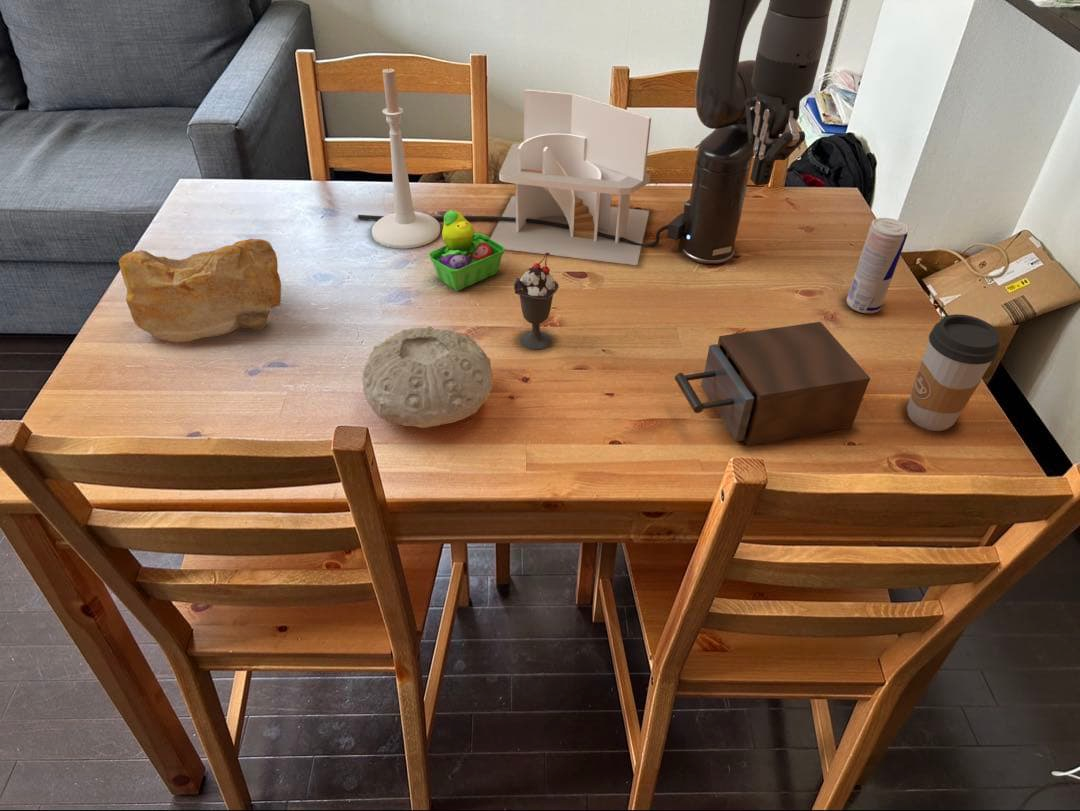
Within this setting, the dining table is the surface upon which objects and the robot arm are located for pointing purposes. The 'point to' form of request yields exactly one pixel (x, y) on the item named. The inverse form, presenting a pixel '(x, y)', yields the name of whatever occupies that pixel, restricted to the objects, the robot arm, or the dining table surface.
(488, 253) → the fruit basket
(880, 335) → the dining table surface
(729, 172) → the robot arm
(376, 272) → the dining table surface
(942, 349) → the coffee cup
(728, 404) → the drawer
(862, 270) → the beverage can
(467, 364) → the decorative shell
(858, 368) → the cabinet
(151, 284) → the rough brown rock
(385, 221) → the candlestick
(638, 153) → the architectural model
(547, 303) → the sundae
